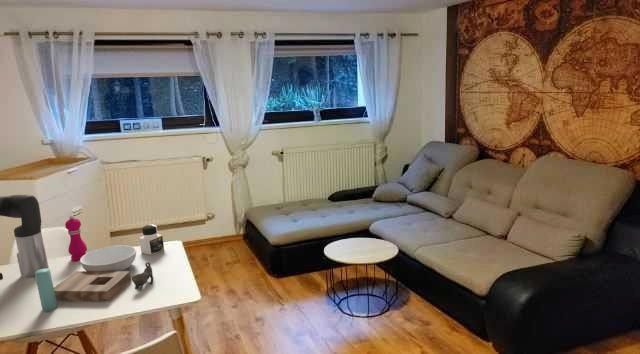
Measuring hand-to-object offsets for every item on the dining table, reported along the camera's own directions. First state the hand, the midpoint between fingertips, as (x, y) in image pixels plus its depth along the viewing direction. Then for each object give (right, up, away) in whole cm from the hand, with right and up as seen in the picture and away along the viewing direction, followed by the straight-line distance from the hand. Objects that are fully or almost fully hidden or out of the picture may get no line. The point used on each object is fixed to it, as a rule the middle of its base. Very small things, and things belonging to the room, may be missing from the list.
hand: (1, 271), depth 154 cm
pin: (+10, -15, +11) cm, 21 cm away
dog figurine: (+37, -10, +24) cm, 46 cm away
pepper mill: (-2, -5, +53) cm, 54 cm away
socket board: (+19, -12, +23) cm, 32 cm away
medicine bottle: (+29, -3, +58) cm, 64 cm away
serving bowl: (+18, -8, +40) cm, 45 cm away
